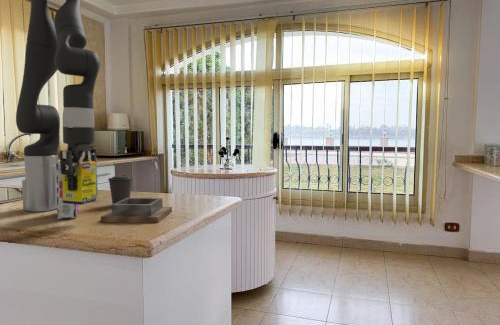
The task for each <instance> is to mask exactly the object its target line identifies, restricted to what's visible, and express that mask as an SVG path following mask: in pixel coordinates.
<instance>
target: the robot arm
mask: <svg viewBox="0 0 500 325" xmlns="http://www.w3.org/2000/svg"><path fill="white" fill-rule="evenodd" d="M48 6H49V5H48V0H30V15H29V20H28V23H29V24H28V29H27V37H26V45H25V53H24V54H25V56H24V66H23V75H22V82H21V88H20V92H19V97H18V101H17V102H18V103H17V107H16V112H15V113H16V114H15V124H16V128H17V130H18V131H19V132H20V133H21V134H25V135H26V134H27V135H39V139H38V140H36V141H35V142H34V143H31V144H28V145H26V146H24V148H23V156H24V157H23V158H24V160H23V161H24V163H23V164H24V179H22V181H21V187H22V190H21V191H22V211H27V212H35V213H36V212H37V213H38V212H48V211H53V210H57V171H56V170H57V168H56V162H58V161H60V166H61V174H64V175H66V176H67V184H68V190H69V191H76V190H77V173H78V167H79V163H82V162H86V161H88V162H90V161H93V162H96V158H97V149H96V148H93V149H90V146H91V145H93V144H95V141H96V140H95V139H96V138H95V135H96V134H95V132H96V131H95V114H94V90H95V86H96V81H97V78H98V75H99V72H100V67H101V60H100V58H99V55H98V54H97V53H96V52H95V51H93V50H91V49H86V48H85V47H86V45H87V42H88V40H87V35H86V32H85V28H84V23H83V20H82V13H81V12H82V11H81V10H82V9H81V0H65V2H64V3H63V4H62V5H61V6H60V7H59V8H58V10H57V11H56V13H55V14H54V18H52V16H51V13H50V9H49V7H48ZM57 71H58V72H59V73H60V74H63V75H68V76H76V77H83V80H82V81H81V82H80V83H75V84H68V85H65V86H64V87H63V90H62V97H63V98H62V99H63V100H62V102H63V103H62V104H63V109H62V110H63V111H62V142H63V144H66V145H67V150H60V151H59V148H60V139H61V138H60V137H61V136H60V132H61V131H60V130H61V129H60V128H61V116H60V113H59V111H58V109H57V108H56V107H55V106H53V105H49V104H38V102H39V96H40V94H41V91H42V90H43V88H44V87H45V85H46V84H47V83H48V82H49V81H50V79H52V77H53V76H54V75H55V74H56V73H57ZM90 156H92V157H90ZM73 163H76V164H73ZM65 165H66V166H67V169H66V170H65ZM73 168H74V171H73Z"/></svg>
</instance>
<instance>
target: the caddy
mask: <svg viewBox="0 0 500 325" xmlns="http://www.w3.org/2000/svg"><path fill="white" fill-rule="evenodd" d="M163 201H164V200H163V198H162V197H130V198H126V199H123V200H121V201H119V202H117V203H114V204H111V211H109V212H106V213H105V214H103V215H100V222H101V223H150V224H151V223H153V224H154V223H155V224H157V223H160V222H161V221H163V219H165V218H166V217H167V216H168V215H169V214H171V213H172V212H173V206H164V205H163V204H164V203H163Z"/></svg>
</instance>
